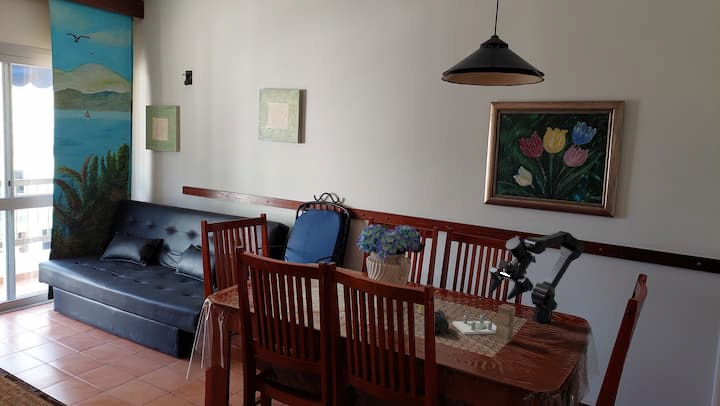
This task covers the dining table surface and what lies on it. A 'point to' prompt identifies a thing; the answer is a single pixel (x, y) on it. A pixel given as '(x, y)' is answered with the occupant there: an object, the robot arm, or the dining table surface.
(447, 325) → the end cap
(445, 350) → the dining table surface
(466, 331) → the plate
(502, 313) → the walnut post
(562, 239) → the robot arm
